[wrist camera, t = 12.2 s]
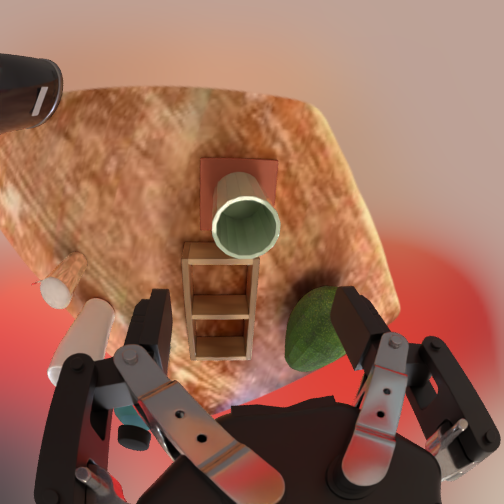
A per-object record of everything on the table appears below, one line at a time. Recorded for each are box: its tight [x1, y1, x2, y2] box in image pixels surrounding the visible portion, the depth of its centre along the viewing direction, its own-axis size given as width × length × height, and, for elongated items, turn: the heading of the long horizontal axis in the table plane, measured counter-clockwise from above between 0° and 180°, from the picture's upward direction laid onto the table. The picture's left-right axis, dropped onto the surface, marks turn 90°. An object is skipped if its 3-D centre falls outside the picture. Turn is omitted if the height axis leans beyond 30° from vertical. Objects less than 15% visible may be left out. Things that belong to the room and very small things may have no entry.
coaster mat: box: [200, 158, 278, 230], centre depth 34 cm, size 9×9×1 cm
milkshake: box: [31, 252, 87, 309], centre depth 32 cm, size 4×5×10 cm
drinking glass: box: [47, 298, 115, 386], centre depth 34 cm, size 7×7×15 cm
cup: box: [212, 172, 281, 259], centre depth 30 cm, size 6×6×10 cm
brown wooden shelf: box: [181, 242, 260, 361], centre depth 39 cm, size 9×17×4 cm, turn 176°
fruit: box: [285, 286, 346, 372], centre depth 40 cm, size 15×10×10 cm, turn 155°
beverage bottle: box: [114, 348, 171, 451], centre depth 35 cm, size 6×7×20 cm
